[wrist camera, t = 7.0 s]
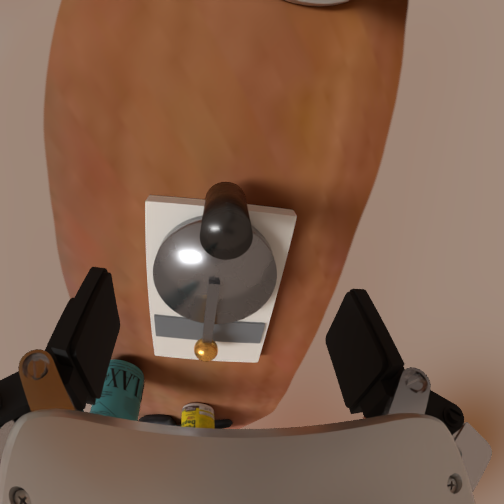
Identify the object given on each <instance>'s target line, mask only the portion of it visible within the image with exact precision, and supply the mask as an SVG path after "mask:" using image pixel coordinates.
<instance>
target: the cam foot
mask: <svg viewBox="0 0 504 504" xmlns="http://www.w3.org/2000/svg"><path fill="white" fill-rule="evenodd" d="M153 280H154V284H155V287H156V290H157V292H158V294H159V295H160V297H161V299H162V300H163V301H164V302H165V303H166V304H167V305H168V306H169V307H170V308H171V309H172V310H173V311H175V312H176V313H178V314H179V315H181V316H183V317H185V318H187V319H190V320H193V321H196V322H200V323H204V326H203V335H202V338H201V339H199V340H198V341H197V342H196V343H195V345H194V353H195V356H196V357H197V358H198V359H199V360H201V361H205V362H208V361H211V360H213V359H214V358H215V357H216V356H217V354H218V346H217V344H216V343H215V341H213V340H212V337H213V330H214V324H226V323H232V322H236V321H239V320H242V319H244V318H246V317H248V316H250V315H252V314H254V313H255V312H257V311H258V310H259V309H260V308H262V307H263V305H264V304H265V303H266V302H267V301H268V300H269V298H270V297H271V295H272V293H273V291H274V288H275V285H276V280H277V268H276V263H275V260H274V256H273V253H272V250H271V247H270V245H269V243H268V242H267V240H266V239H265V237H264V236H263V235H262V234H261V233H260V232H259V231H258V230H257V229H256V228H254V227H253V226H252V225H251V222H250V217H249V212H248V207H247V202H246V197H245V194H244V192H243V190H242V189H241V188H240V187H239V186H238V185H236V184H234V183H231V182H220V183H217V184H215V185H214V186H212V187H211V188H210V189H209V191H208V192H207V194H206V198H205V204H204V210H203V215H202V216H197V217H194V218H191V219H188V220H186V221H184V222H182V223H180V224H179V225H177V226H176V227H174V228H173V229H172V230H171V231H170V232H169V233H168V234H167V235H166V236H165V238H164V239H163V241H162V243H161V244H160V247H159V249H158V252H157V255H156V257H155V261H154V265H153Z"/></svg>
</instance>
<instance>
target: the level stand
mask: <svg viewBox="0 0 504 504" xmlns="http://www.w3.org/2000/svg"><path fill="white" fill-rule="evenodd" d="M204 204H205V200H203V199H192V198H181V197H168V196H155V195H149V197H148V198H147V200H146V201H145V230H146V263H147V281H148V295H149V308H150V318H151V328H152V337H153V345H154V353H155V355H156V356H165V357H174V358H185V359H197V360H199V359H198V358H197V357H196V356H195V353H194V345H195V343H196V342H197V341H198V340H199V339H201V338H202V335H203V326H204V323H200V322H196V321H193V320H190V319H187V318H185V317H183V316H181V315H179V314H178V313H176V312H175V311H173V310H172V309H171V308H170V307H169V306H168V305H167V304H166V303H165V302H164V301H163V300H162V299H161V297H160V295H159V294H158V292H157V290H156V287H155V284H154V280H153V265H154V261H155V257H156V255H157V252H158V249H159V247H160V244H161V243H162V241H163V239H164V238H165V236H166V235H167V234H168V233H169V232H170V231H171V230H172V229H173V228H174V227H176V226H177V225H179V224H180V223H182V222H184V221H186V220H188V219H191V218H194V217H197V216H202V215H203V210H204ZM247 207H248V212H249V217H250V222H251V225H252V226H253V227H254V228H256V229H257V230H258V231H259V232H260V233H261V234H262V235H263V236H264V237H265V239H266V240H267V242H268V243H269V245H270V247H271V250H272V253H273V256H274V260H275V263H276V268H277V280H276V285H275V288H274V291H273V293H272V295H271V297H270V298H269V300H268V301H267V302H266V303H265V304H264V305H263V307H262V308H260V309H259V310H258V311H257V312H255V313H254V314H252V315H250V316H248V317H246V318H244V319H242V320H239V321H236V322H232V323H226V324H214V330H213V337H212V340H213V341H215V343H216V344H217V346H218V354H217V356H216V357H215V358H214V359H213V360H211V361H229V362H258V360H259V357H260V353H261V350H262V346H263V343H264V340H265V336H266V332H267V329H268V325H269V322H270V318H271V315H272V311H273V307H274V304H275V300H276V296H277V293H278V289H279V285H280V281H281V278H282V274H283V270H284V266H285V262H286V259H287V255H288V251H289V247H290V243H291V239H292V235H293V231H294V227H295V223H296V219H297V216H296V214H295V212H294V210H291V209H284V208H276V207H268V206H259V205H251V204H247Z"/></svg>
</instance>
